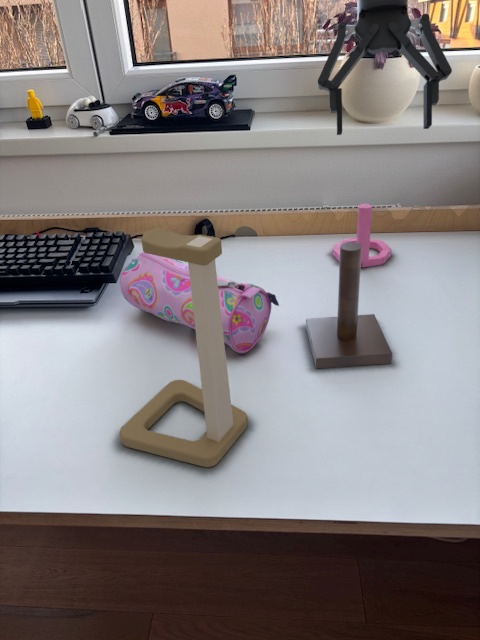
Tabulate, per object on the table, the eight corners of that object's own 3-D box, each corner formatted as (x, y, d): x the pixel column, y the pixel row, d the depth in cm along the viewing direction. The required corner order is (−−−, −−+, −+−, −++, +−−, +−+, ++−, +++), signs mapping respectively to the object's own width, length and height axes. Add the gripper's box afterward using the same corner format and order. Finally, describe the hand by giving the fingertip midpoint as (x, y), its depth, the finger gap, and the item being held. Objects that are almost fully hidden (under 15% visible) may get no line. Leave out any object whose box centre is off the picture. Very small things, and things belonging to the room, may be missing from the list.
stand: (373, 323, 72) (380, 228, 65) (391, 363, 64) (401, 260, 57) (305, 328, 72) (305, 233, 65) (315, 368, 65) (316, 266, 57)
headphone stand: (176, 385, 63) (147, 205, 52) (258, 414, 58) (247, 221, 47) (115, 443, 56) (66, 247, 44) (203, 481, 51) (174, 271, 39)
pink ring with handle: (331, 268, 87) (333, 208, 81) (333, 243, 95) (335, 187, 89) (392, 269, 85) (397, 208, 80) (389, 243, 93) (394, 186, 88)
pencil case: (281, 333, 71) (279, 272, 67) (236, 368, 66) (231, 303, 61) (168, 291, 84) (160, 236, 79) (122, 317, 78) (110, 259, 73)
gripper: (300, -15, 82) (303, 130, 84) (473, -34, 78) (472, 118, 81) (301, 7, 89) (304, 140, 92) (460, -9, 86) (459, 129, 88)
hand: (383, 130), depth 86 cm, fingers open, 13 cm apart
